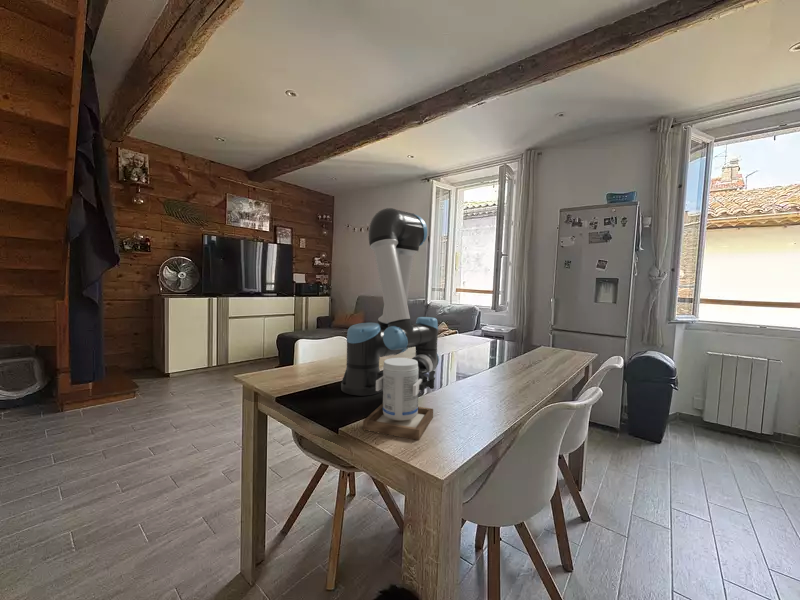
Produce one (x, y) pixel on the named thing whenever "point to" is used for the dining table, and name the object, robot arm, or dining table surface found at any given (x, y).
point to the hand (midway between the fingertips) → (395, 388)
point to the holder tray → (399, 423)
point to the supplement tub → (400, 388)
